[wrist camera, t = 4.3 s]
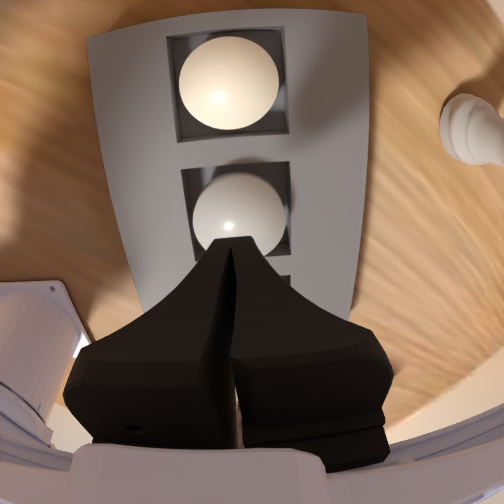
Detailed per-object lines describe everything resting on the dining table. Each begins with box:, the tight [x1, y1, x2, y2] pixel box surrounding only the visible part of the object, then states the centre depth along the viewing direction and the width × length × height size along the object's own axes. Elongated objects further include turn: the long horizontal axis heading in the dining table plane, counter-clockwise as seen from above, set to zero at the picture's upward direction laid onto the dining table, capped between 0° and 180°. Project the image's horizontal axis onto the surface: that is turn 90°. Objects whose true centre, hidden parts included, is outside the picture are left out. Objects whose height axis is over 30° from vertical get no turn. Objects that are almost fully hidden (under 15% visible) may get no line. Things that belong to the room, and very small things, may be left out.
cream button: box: [179, 36, 279, 130], centre depth 13 cm, size 4×4×1 cm
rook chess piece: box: [440, 93, 504, 167], centre depth 12 cm, size 4×4×8 cm
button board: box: [86, 8, 369, 321], centre depth 17 cm, size 13×20×2 cm, turn 3°
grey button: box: [193, 171, 286, 256], centre depth 16 cm, size 4×4×1 cm
